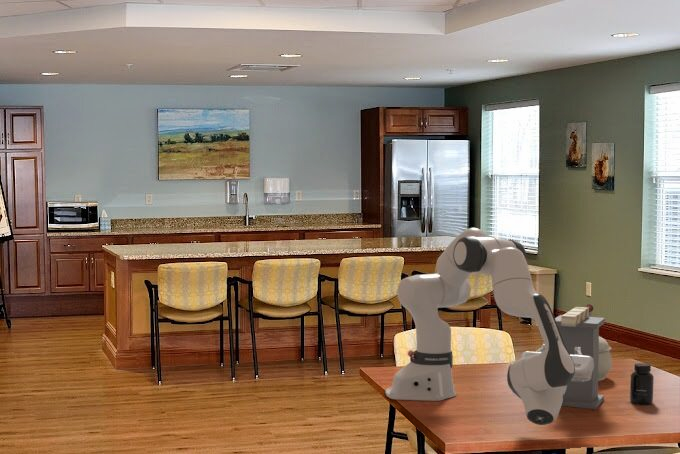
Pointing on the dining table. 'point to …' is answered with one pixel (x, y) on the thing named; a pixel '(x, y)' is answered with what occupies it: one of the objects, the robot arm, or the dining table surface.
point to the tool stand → (589, 343)
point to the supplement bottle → (641, 385)
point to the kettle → (602, 354)
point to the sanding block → (574, 316)
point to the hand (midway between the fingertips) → (561, 347)
